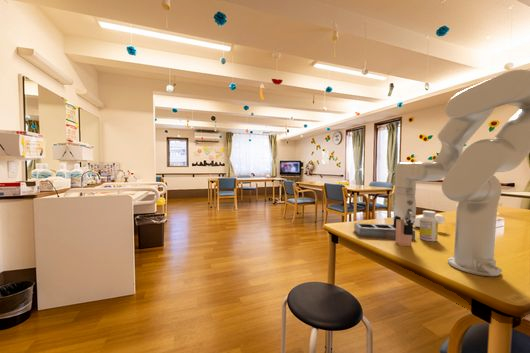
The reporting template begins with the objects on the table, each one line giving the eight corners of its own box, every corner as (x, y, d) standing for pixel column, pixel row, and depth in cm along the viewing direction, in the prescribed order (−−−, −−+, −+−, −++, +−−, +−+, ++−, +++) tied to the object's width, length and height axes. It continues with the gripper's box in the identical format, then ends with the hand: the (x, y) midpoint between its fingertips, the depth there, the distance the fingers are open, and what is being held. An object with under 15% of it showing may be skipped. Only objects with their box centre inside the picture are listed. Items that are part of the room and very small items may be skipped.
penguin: (413, 233, 121) (446, 229, 110) (407, 218, 123) (438, 212, 112) (418, 230, 126) (450, 226, 115) (413, 216, 128) (443, 210, 117)
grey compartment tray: (414, 239, 102) (415, 230, 102) (359, 236, 105) (359, 228, 105) (404, 232, 112) (404, 225, 111) (354, 230, 115) (354, 222, 115)
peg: (411, 245, 93) (412, 222, 93) (400, 245, 94) (400, 221, 94) (406, 242, 98) (407, 219, 97) (395, 241, 98) (396, 219, 98)
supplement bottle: (431, 237, 105) (432, 210, 104) (440, 242, 98) (442, 213, 98) (416, 236, 106) (417, 209, 105) (424, 241, 99) (425, 212, 98)
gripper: (426, 194, 86) (423, 238, 87) (404, 189, 103) (402, 225, 104) (404, 194, 87) (402, 237, 88) (387, 188, 104) (385, 224, 105)
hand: (402, 230), depth 96 cm, fingers open, 9 cm apart
